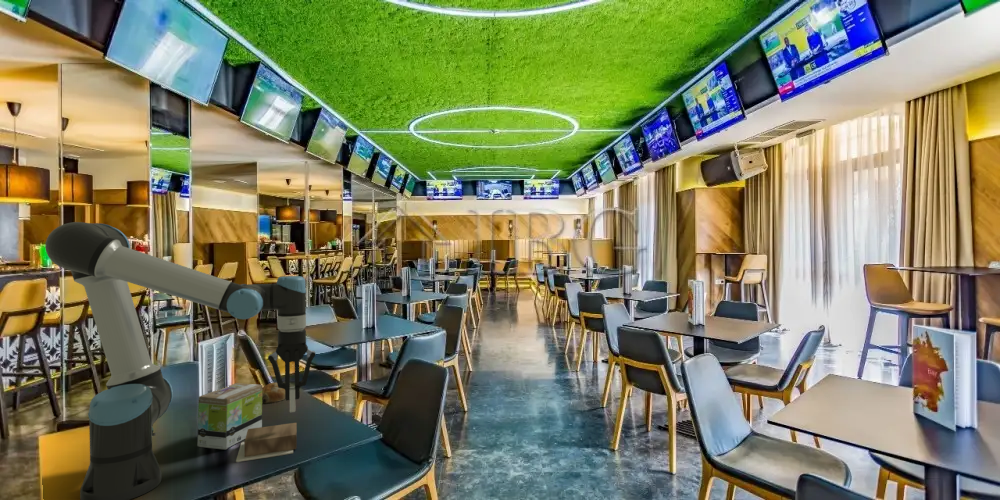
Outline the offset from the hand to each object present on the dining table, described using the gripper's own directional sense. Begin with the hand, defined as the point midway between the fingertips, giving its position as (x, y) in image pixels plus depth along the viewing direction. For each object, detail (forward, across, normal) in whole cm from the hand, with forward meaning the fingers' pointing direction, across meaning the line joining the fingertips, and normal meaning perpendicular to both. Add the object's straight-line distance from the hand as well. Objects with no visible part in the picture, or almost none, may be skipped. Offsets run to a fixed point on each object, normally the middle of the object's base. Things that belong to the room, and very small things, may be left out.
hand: (292, 410), depth 139 cm
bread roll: (+10, -8, +48) cm, 49 cm away
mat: (+10, -7, 0) cm, 12 cm away
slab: (+7, +1, 0) cm, 7 cm away
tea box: (+10, -17, +12) cm, 23 cm away
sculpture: (+11, -40, +25) cm, 48 cm away
